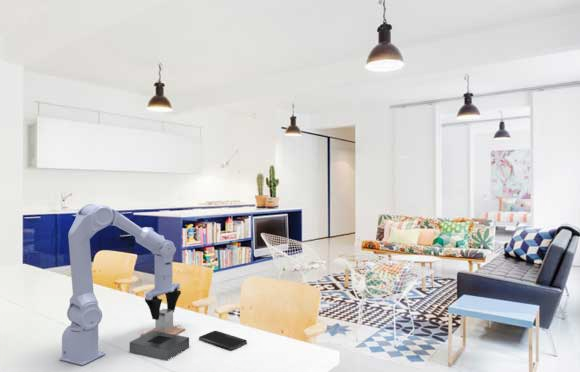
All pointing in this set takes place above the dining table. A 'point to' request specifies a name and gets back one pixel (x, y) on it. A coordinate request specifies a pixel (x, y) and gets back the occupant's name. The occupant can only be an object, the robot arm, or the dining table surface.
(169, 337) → the socket plate
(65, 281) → the dining table surface
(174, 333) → the mat
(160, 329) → the steel peg
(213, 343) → the phone
